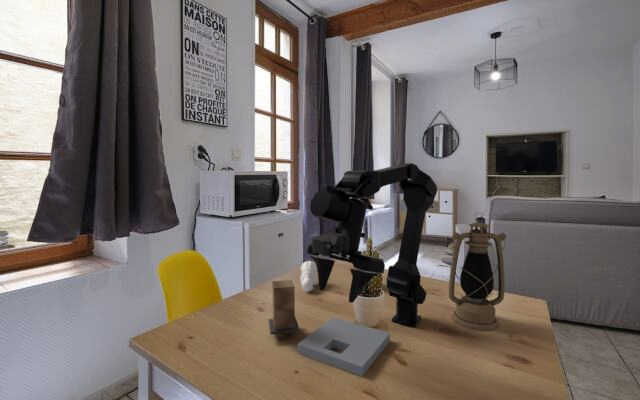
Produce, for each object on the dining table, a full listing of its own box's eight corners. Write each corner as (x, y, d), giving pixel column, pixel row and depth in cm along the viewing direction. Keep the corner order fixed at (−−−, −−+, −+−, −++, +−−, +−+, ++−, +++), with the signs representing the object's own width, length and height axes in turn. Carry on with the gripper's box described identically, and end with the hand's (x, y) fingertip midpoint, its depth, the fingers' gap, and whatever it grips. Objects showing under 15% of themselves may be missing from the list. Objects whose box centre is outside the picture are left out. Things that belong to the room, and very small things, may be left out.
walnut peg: (295, 325, 85) (295, 278, 84) (299, 339, 79) (299, 287, 77) (268, 328, 84) (268, 280, 83) (270, 342, 77) (269, 290, 76)
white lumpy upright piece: (317, 259, 118) (316, 272, 106) (317, 280, 120) (316, 296, 108) (300, 259, 118) (297, 272, 107) (301, 280, 120) (297, 296, 108)
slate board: (332, 324, 86) (332, 317, 86) (389, 341, 78) (390, 333, 78) (297, 352, 73) (297, 344, 73) (362, 376, 64) (362, 367, 64)
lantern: (493, 312, 94) (498, 210, 91) (513, 332, 82) (519, 215, 79) (441, 309, 95) (445, 209, 92) (454, 329, 83) (458, 215, 81)
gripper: (296, 214, 73) (281, 282, 71) (357, 224, 59) (340, 309, 57) (331, 222, 80) (317, 285, 79) (392, 233, 66) (378, 309, 65)
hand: (335, 295), depth 70 cm, fingers open, 9 cm apart
